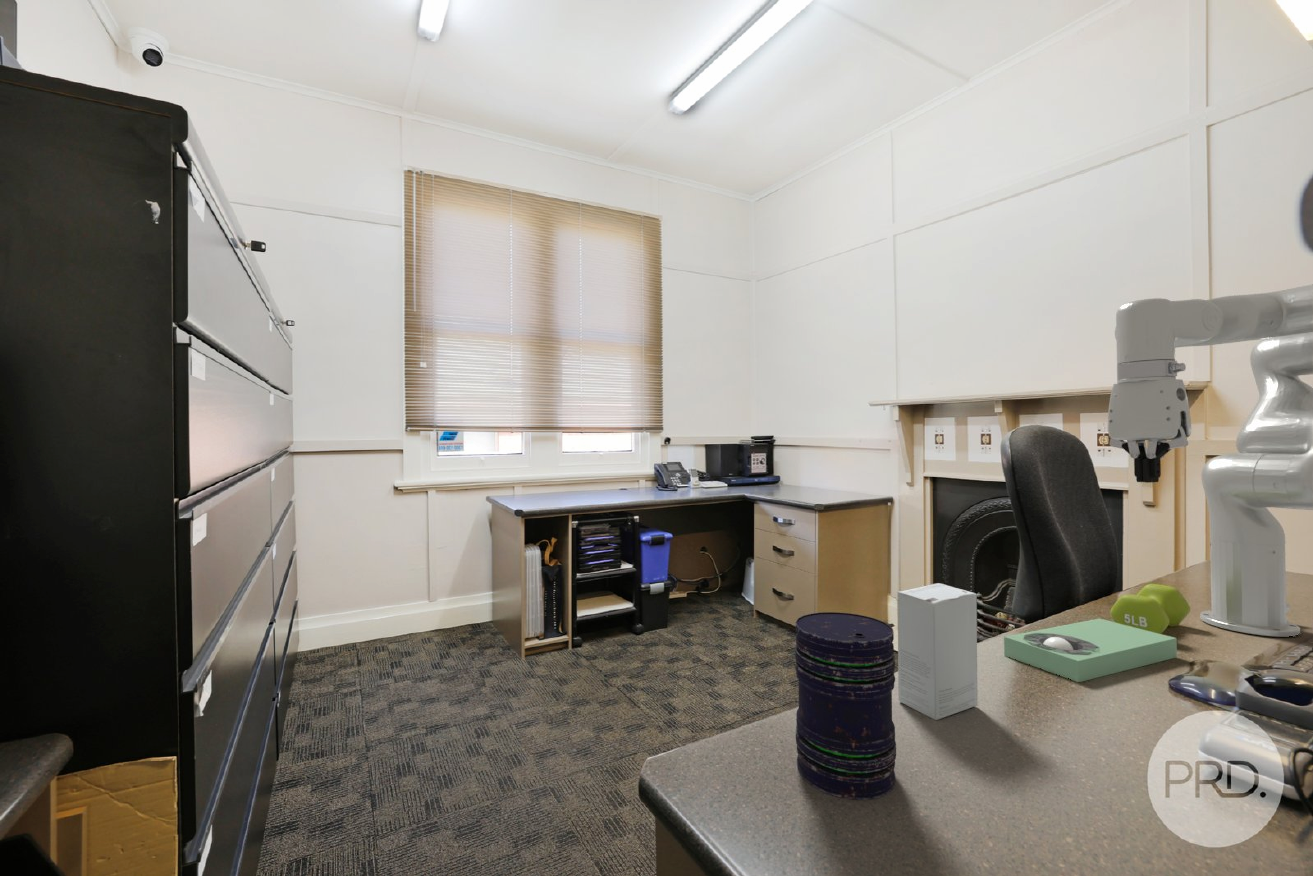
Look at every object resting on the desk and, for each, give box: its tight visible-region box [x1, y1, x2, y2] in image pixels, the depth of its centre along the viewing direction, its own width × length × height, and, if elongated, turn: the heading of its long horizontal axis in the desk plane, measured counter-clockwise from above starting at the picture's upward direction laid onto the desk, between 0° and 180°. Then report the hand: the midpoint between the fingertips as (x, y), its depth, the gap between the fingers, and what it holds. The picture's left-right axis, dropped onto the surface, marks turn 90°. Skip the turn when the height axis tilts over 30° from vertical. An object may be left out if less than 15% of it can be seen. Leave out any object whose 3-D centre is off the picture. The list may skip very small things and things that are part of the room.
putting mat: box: [1003, 618, 1178, 683], centre depth 89 cm, size 24×11×3 cm, turn 112°
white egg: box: [1043, 637, 1073, 650], centre depth 86 cm, size 4×4×4 cm
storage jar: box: [794, 611, 897, 801], centre depth 59 cm, size 10×10×15 cm
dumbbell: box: [1109, 583, 1191, 635], centre depth 102 cm, size 16×8×7 cm, turn 124°
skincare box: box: [896, 582, 979, 721], centre depth 73 cm, size 8×6×15 cm
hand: (1147, 481), depth 96 cm, fingers closed
